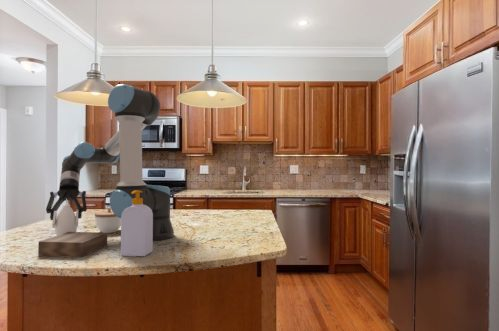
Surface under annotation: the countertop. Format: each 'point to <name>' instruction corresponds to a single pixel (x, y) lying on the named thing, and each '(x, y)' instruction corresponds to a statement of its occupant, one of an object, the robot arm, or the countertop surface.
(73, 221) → the grey teardrop shape
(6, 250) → the countertop surface
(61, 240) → the walnut stand
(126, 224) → the soap bottle
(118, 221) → the lidded bowl
